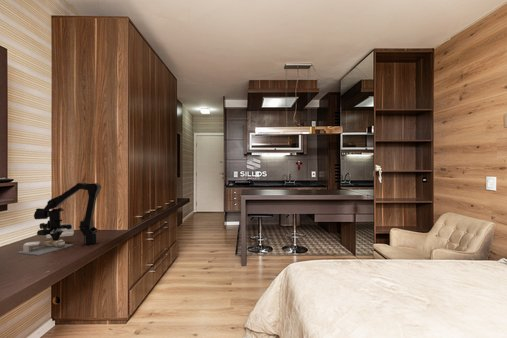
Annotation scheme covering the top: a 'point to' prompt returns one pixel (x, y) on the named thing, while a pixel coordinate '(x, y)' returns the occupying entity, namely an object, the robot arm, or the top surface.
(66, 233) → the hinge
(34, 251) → the pintle base
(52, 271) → the top surface
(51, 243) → the link
